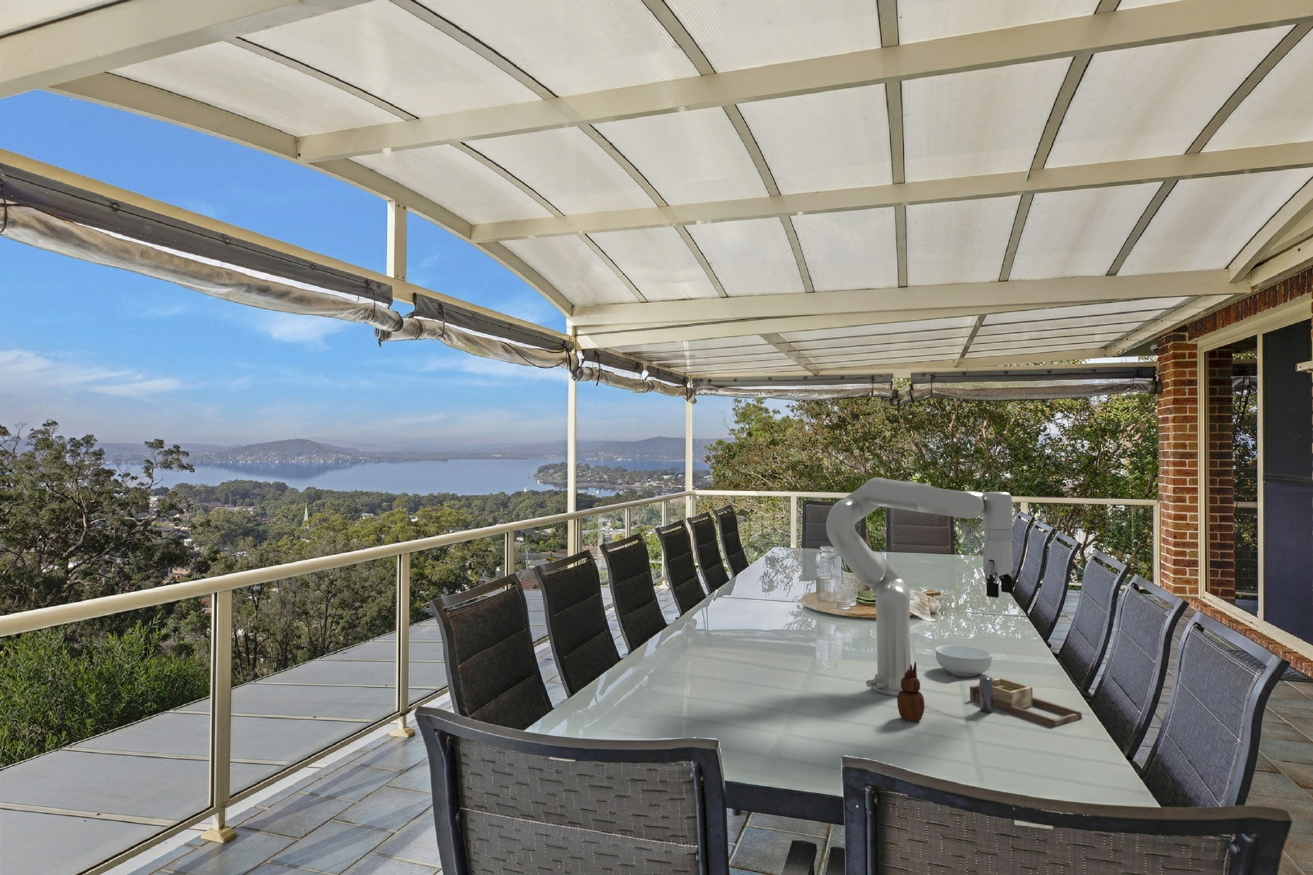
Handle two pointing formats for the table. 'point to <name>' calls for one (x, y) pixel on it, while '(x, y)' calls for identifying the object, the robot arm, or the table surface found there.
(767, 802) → the table surface
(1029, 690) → the crate
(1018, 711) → the tray
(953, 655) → the cereal bowl
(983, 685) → the handle peg
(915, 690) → the wooden figurine
